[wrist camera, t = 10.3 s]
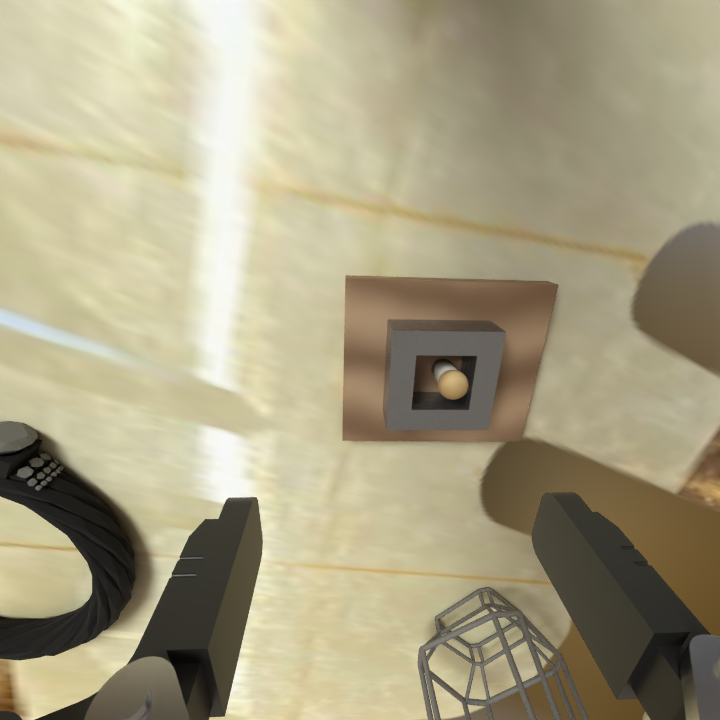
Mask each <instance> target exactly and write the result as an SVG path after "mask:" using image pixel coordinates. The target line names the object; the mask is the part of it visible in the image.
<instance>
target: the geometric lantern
mask: <svg viewBox="0 0 720 720" xmlns="http://www.w3.org/2000/svg"><path fill="white" fill-rule="evenodd" d="M483 592H487V594H488V596H489V599H490V602H491V603H488V604H485V603H484V600H483V597H482V594H481V593H483ZM491 593H492V594H493V595H494V596H496V597H497V598H498V599H499V600H501V601H502V602H503V603H505V604H506V605H507V606H508V607H506V606H502V605H499V604H495V603H494V600H493V598H492V595H491ZM476 595H479V598H480V601H481V604H482V607H480V608H479V609H477V610H475V611H474V612H472V613H470V614H468V615H467V616H465V617H463V618H462V619H460V620H458V621H457V622H455V623H453V624H452V625H450V626H448V627H447V628H444V627H443V626H442V625H440V623H439V619H440V618H442V617H443V616H445V615H446V614H448V613H450V612H451V611H453V610H454V609H456V608H457V607H459V606H461V605H462V604H464V603H465V602H467V601H468V600H470V599H472V598H473V597H475V596H476ZM490 607H493V608H495V609H496V610H497V612H494V611H493V610H492V609H491V608H490ZM485 609H487V610H488V611H489V612H490V613H489V614H487V615H485V616H483V617H481V618H479V619H477V620H475V621H473V622H471V623H468V624H466V625H464V626H462V627H460V628H458V629H456V630H454V631H452V632H450V631H449V630H451V629H453V628H455V627H456V626H458V625H460V624H461V623H463V622H465V621H466V620H468V619H470V618H472V617H473V616H475V615H477V614H478V613H480V612H482V611H483V610H485ZM501 609H502V610H506V611H502V610H501ZM513 616H517V617H518V619H519V620H517V621H515V620H513V619H512V618H511V617H513ZM502 617H506V618H507V619H508V620H509V621H511V622H512V624H510V625H509V626H507V627H505V628H504V629H502V628H501V626H500V623H499V620H498V618H502ZM490 620H493V622H494V625H495V628H496V630H497V633H495V634H494V635H492V636H490V637H489V638H487V639H485V640H484V641H482V642H480V643H479V644H470V645H469V644H468V643H466V642H465V641H463V640H462V639H460V638H459V637H457V636H458V635H460V634H462V633H465V632H467V631H469V630H471V629H473V628H475V627H477V626H479V625H481V624H483V623H485V622H488V621H490ZM435 621H436V630H437V634H436V635H435V636H434V637H432V638H431V639H430V640H429V641H428V642H427V643H426V644H425V645H423V646H421V647H420V648H419V654H418V669H419V674H420V679H421V684H422V690H423V695H424V700H425V706H426V711H427V716H428V720H433V714H432V709H431V704H432V708H433V713H434V718H435V720H441V718H440V714H439V710H438V705H437V701H436V696H435V692H434V687H433V683H432V679H433V680H434V681H435V682H437V683H438V684H439V685H440V686H442V687H443V688H444V689H445V690H447V691H448V692H449V693H450V694H452V695H453V696H454V697H455V698H457V699H458V700H459V701H461V702H462V704H463V709H464V712H465V716H466V720H471V718H470V714H469V710H468V706H467V704H468V705H477V706H486V709H487V713H488V718H489V720H494V719H493V715H492V710H491V706H490V705H491V704H493V703H495V702H497V701H499V700H501V699H503V698H505V697H508V696H510V695H512V694H514V693H516V692H518V691H519V692H520V695H521V698H522V700H523V703H524V706H525V708H526V711H527V714H528V717H529V719H530V720H537V719H536V717H535V714H534V711H533V709H532V706H531V704H530V701H529V698H528V696H527V693H526V690H525V688H527V687H529V686H531V685H533V684H536V683H537V682H540V681H541V682H542V685H543V688H544V690H545V693H546V696H547V699H548V702H549V704H550V707H551V710H552V713H553V716H554V718H555V720H562V719H561V716H560V713H559V711H558V708H557V705H556V703H555V700H554V697H553V695H552V692H551V689H550V687H549V684H548V681H547V679H546V678H548V677H551V676H554V678H555V681H556V684H557V686H558V689H559V691H560V694H561V696H562V699H563V702H564V704H565V707H566V710H567V712H568V715H569V718H570V720H576V719H575V716H574V714H573V711H572V709H571V706H570V703H569V701H568V698H567V696H566V693H565V690H564V688H563V685H562V683H561V680H560V678H559V675H558V670H559V669H560V667H561V666H562V669H563V672H564V674H565V677H566V679H567V682H568V684H569V687H570V689H571V691H572V694H573V697H574V699H575V701H576V704H577V706H578V709H579V711H580V714H581V716H582V719H583V720H589V718H588V716H587V714H586V711H585V709H584V707H583V704H582V702H581V699H580V697H579V695H578V692H577V690H576V687H575V685H574V683H573V680H572V678H571V675H570V673H569V670H568V668H567V666H566V663H565V661H564V658H563V656H562V654H560V653H559V652H558V651H557V650H556V649H555V647H554V646H553V645H552V644H551V643H550V642H549V641H548V640H547V639H546V638H545V637H544V636H543V635H542V634H541V633H540V632H539V630H538V629H537V628H536V627H535V626H534V625H533V624H532V623H531V622H530V621H529V620H528V619H527V618H526V617H525V616H524V615H523V614H522V612H520V611H519V610H518V609H516V608H515V607H513V606H512V605H511V604H510V603H508V602H507V601H506V600H505V599H503V598H502V597H501V596H500V595H498V594H497V593H496V592H495V591H493V590H492V589H491V588H489V587H488V588H483V589H478V590H477V591H475V592H474V593H472V594H471V595H469V596H468V597H466V598H464V599H463V600H461V601H460V602H458V603H457V604H455V605H453V606H452V607H450V608H449V609H447V610H446V611H444V612H442V613H441V614H439V615H438V616H436V617H435ZM515 626H517V627H518V628H519V629H521V630H522V633H523V636H524V637H523V638H522V639H520V640H518V641H517V642H515V643H513V644H512V645H510V646H508V643H507V641H506V638H505V636H504V633H505V632H506V631H508V630H510V629H511V628H513V627H515ZM527 626H528V627H529V628H530V629H531V630H532V632H533V633H534V634H535V635H536V636H537V637H538V638H539V639H538V638H537V637H535V636H534V635H532V634H531V633H530V632H529V630H528V628H527ZM441 630H442V631H441ZM444 633H447V634H446V635H444V636H442V637H441V635H443V634H444ZM498 636H499V638H500V641H501V643H502V646H503V650H502V651H500V652H499V653H497V654H495V655H494V656H492V657H490V658H489V659H487V660H485V661H484V659H483V655H482V652H481V648H480V647H481V646H483V645H484V644H486V643H488V642H490V641H491V640H493V639H495V638H496V637H498ZM452 638H455V639H456V640H458V641H459V642H460V643H462V644H463V645H465V646H466V647H468V648H469V651H470V655H471V659H472V660H471V659H470V658H468V657H467V656H466V655H464V654H463V653H461V652H460V651H458V650H457V649H455V648H454V647H452V646H451V645H449V644H448V643H446V641H448V640H450V639H452ZM531 638H532V639H534V640H535V641H537V642H538V643H540V644H541V645H543V646H544V647H545V648H547V649H548V650H550V651H551V652H552V653H553V654H554V655H555V656H556V657H557V661H556V663H555V665H554V664H553V663H552V662H551V661H550V660H549V659H548V658H547V656H546V655H545V654H544V653H543V652H542V651H541V650H540V649H539V648H538V647H537V646H536V645H535V644H534V643H533V641H532V639H531ZM525 641H527V644H528V646H529V649H530V652H531V655H532V657H533V660H534V663H535V666H536V668H537V671H538V674H539V675H537V676H535V677H533V678H531V679H529V680H527V681H524V682H522V680H521V677H520V675H519V672H518V669H517V667H516V664H515V662H514V659H513V656H512V654H511V651H510V650H511V649H513V648H515V647H516V646H518V645H520V644H521V643H523V642H525ZM439 644H443V645H444V646H446V647H447V648H449V649H450V650H452V651H453V652H455V653H456V654H458V655H459V656H461V657H462V658H464V659H465V660H467V661H468V662H470V663H471V664H472V668H471V673H470V678H469V682H468V687H467V691H466V696H465V698H464V697H463V696H461V695H460V694H459V693H458V692H456V691H455V690H454V689H453V688H451V687H450V686H449V685H448V684H446V683H445V682H444V681H443V680H441V679H440V678H439V677H438V676H436V675H435V674H434V673H433V672H431V671H430V670H429V665H428V660H429V659H430V657H431V655H432V654H433V652H434V651H435V649H436V647H437V646H438V645H439ZM472 648H478V652H479V656H480V659H481V662H475V659H474V655H473V651H472ZM429 649H431V650H430V651H429V653H428V655H427V656H426V652H425V651H427V650H429ZM536 651H537V652H538V653H539V654H540V655H541V656H542V657H543V658H544V659H545V660H546V661H547V662H548V663H549V665H550V666H551V667H552V669H550V670H548V671H546V672H544V671H543V668H542V665H541V663H540V660H539V657H538V654H537V652H536ZM503 654H506V657H507V659H508V662H509V665H510V668H511V670H512V673H513V676H514V679H515V681H516V684H517V685H516V686H514V687H512V688H510V689H507V690H505V691H503V692H501V693H499V694H497V695H495V696H493V697H490V696H489V691H488V686H487V681H486V676H485V671H484V666H485V665H487V664H488V663H490V662H492V661H493V660H495V659H497V658H498V657H500V656H502V655H503ZM475 666H480V667H481V672H482V677H483V682H484V687H485V692H486V696H487V699H486V700H479V699H470V698H469V693H470V689H471V684H472V679H473V675H474V670H475ZM424 673H425V674H424ZM425 676H426V679H425ZM426 680H427V684H426ZM427 685H428V689H427ZM428 690H429V694H430V699H431V704H430V699H429V694H428Z"/></svg>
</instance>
